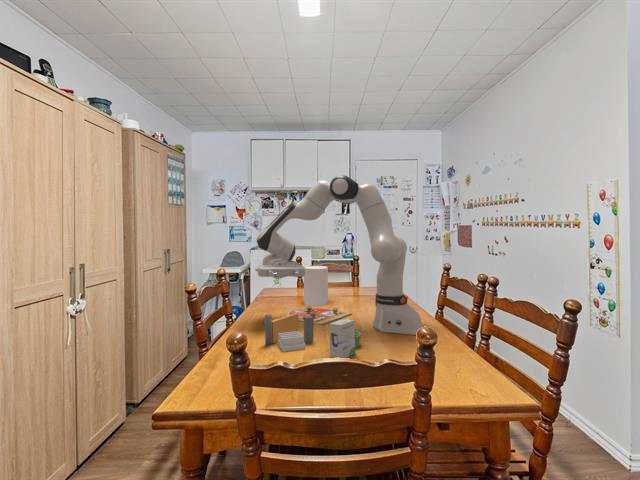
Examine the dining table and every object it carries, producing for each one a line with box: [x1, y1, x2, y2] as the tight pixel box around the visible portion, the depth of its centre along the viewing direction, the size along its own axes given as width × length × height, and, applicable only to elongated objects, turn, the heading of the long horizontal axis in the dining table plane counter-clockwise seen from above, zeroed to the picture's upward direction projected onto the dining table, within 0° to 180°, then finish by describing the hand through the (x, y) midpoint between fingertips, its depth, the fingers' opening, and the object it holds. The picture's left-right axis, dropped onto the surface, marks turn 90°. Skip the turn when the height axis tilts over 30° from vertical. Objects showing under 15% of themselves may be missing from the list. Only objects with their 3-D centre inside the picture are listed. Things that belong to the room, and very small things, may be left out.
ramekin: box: [355, 330, 362, 349], centre depth 138 cm, size 9×9×4 cm
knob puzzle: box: [285, 305, 353, 326], centre depth 181 cm, size 29×30×4 cm
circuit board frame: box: [264, 314, 314, 353], centre depth 138 cm, size 20×20×12 cm
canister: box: [303, 265, 329, 307], centre depth 209 cm, size 14×14×20 cm
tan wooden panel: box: [272, 313, 299, 345], centre depth 142 cm, size 14×2×8 cm, turn 145°
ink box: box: [328, 318, 356, 359], centre depth 127 cm, size 9×5×12 cm, turn 141°
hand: (285, 275), depth 153 cm, fingers open, 8 cm apart
